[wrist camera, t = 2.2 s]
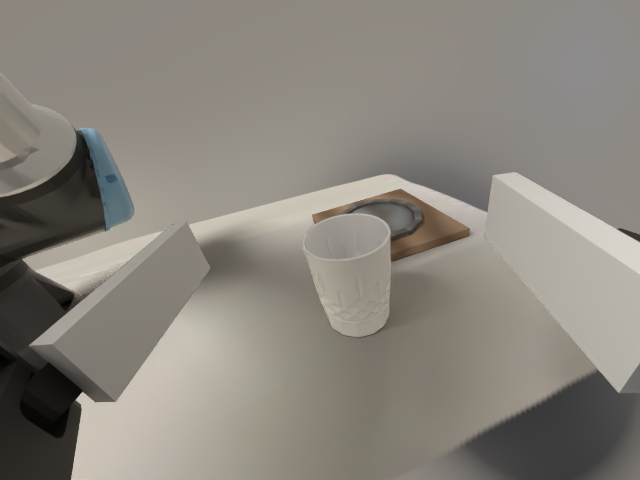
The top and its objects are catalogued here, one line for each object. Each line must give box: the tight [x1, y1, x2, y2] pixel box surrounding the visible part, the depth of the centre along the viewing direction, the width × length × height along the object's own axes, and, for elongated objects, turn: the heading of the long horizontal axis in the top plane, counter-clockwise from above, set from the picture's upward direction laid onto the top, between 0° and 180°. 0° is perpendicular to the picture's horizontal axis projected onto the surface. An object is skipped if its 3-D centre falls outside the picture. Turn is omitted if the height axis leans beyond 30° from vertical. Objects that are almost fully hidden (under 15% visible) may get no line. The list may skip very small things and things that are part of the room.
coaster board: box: [312, 189, 470, 261], centre depth 42 cm, size 18×18×2 cm
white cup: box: [302, 213, 391, 337], centre depth 26 cm, size 8×8×10 cm
